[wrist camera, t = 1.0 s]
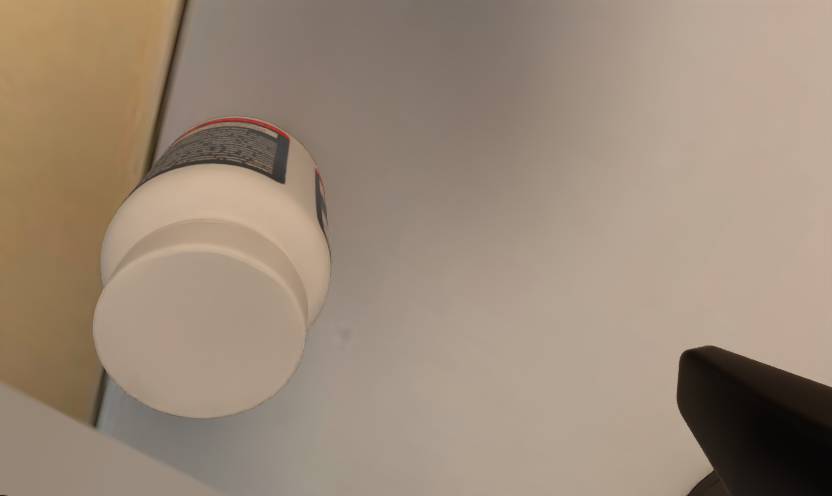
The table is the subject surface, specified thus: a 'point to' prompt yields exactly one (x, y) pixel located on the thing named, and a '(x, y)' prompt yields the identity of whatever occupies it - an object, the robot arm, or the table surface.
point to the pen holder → (710, 487)
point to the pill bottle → (214, 271)
